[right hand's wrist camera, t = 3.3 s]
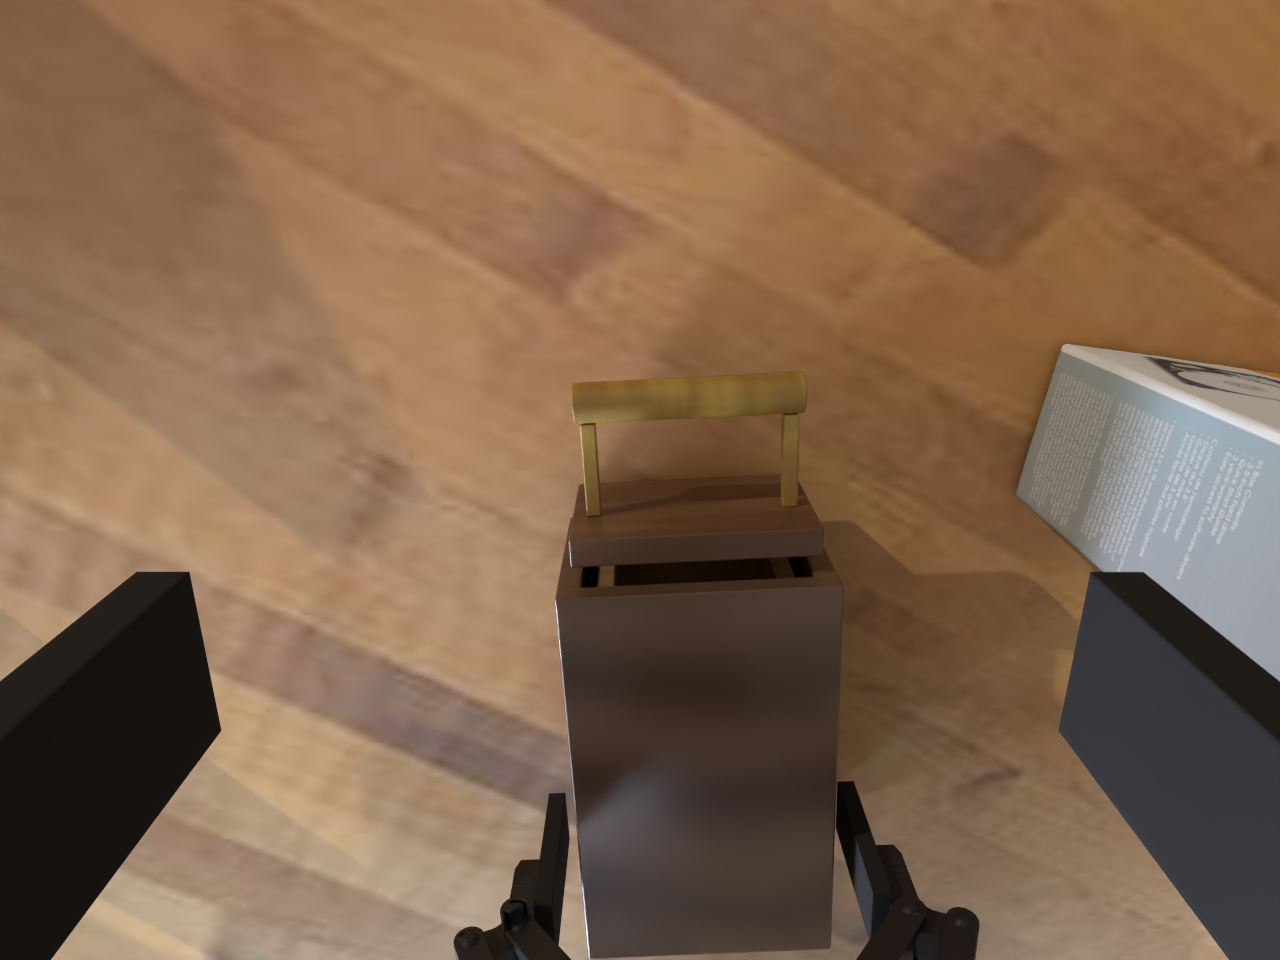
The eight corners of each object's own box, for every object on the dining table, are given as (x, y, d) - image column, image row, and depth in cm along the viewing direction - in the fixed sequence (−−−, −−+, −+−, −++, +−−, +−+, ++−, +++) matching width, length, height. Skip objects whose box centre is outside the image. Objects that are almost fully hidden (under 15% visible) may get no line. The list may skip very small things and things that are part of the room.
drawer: (569, 363, 37) (556, 401, 31) (796, 352, 36) (827, 387, 31) (603, 791, 44) (598, 886, 39) (791, 784, 44) (814, 877, 38)
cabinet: (570, 517, 40) (554, 599, 32) (804, 505, 40) (843, 586, 32) (596, 828, 46) (588, 959, 39) (798, 819, 46) (830, 949, 39)
